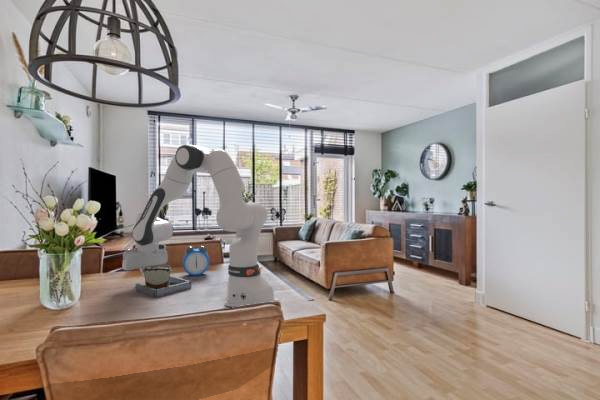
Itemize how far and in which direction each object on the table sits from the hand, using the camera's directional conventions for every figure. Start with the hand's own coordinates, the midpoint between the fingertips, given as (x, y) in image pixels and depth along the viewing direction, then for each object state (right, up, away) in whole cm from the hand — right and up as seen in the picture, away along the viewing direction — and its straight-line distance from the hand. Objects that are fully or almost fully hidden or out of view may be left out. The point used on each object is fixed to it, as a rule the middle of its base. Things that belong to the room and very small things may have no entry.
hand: (145, 276), depth 149 cm
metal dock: (+12, -4, -9) cm, 15 cm away
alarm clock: (+18, -3, +16) cm, 25 cm away
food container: (+9, -4, -7) cm, 12 cm away
